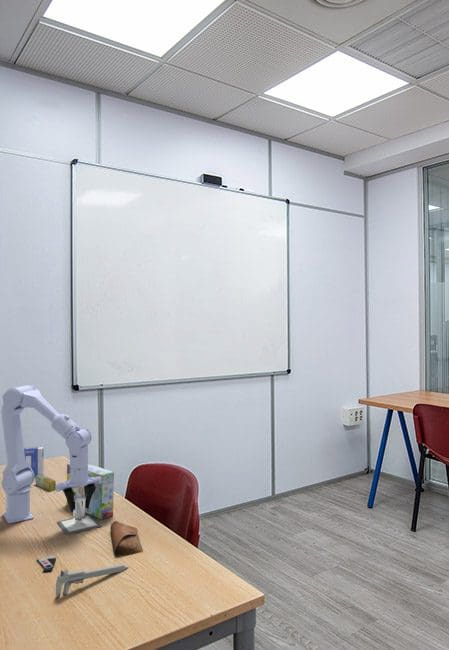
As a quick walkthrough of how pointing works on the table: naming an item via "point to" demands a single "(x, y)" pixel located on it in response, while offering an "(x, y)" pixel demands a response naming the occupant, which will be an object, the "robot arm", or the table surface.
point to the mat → (71, 528)
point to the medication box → (45, 482)
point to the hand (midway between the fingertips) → (79, 509)
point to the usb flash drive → (47, 563)
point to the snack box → (98, 492)
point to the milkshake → (79, 509)
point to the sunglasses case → (125, 539)
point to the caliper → (82, 577)
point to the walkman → (35, 459)
